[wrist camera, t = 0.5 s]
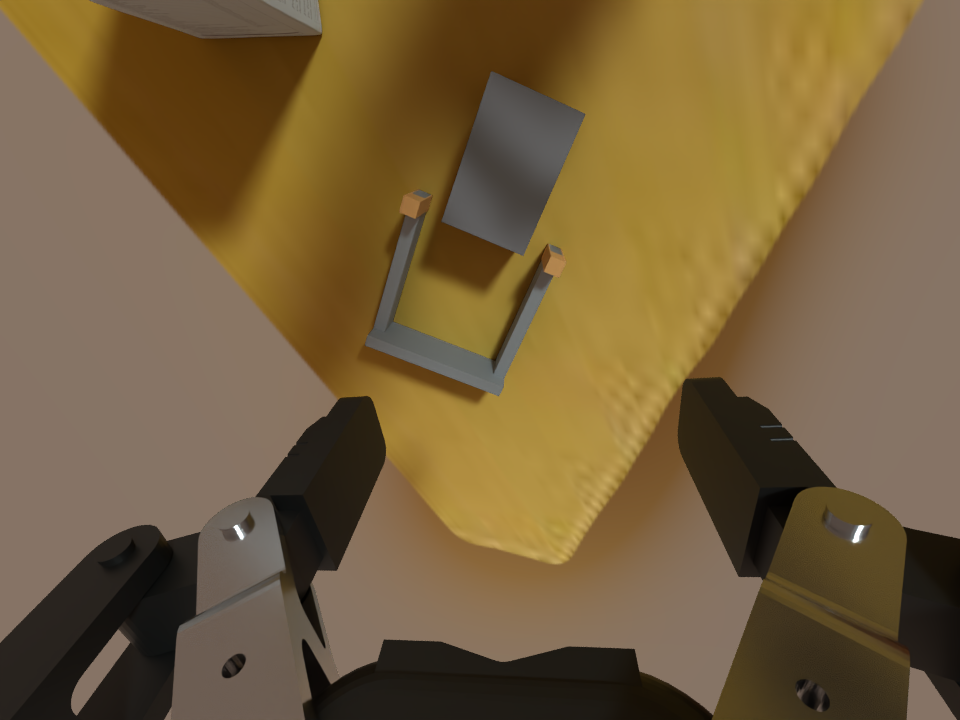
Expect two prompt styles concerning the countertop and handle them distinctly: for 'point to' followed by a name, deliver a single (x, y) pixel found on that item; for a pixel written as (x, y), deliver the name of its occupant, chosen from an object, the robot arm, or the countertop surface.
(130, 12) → the supplement box
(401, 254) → the bay
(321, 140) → the countertop surface
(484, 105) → the grey block
